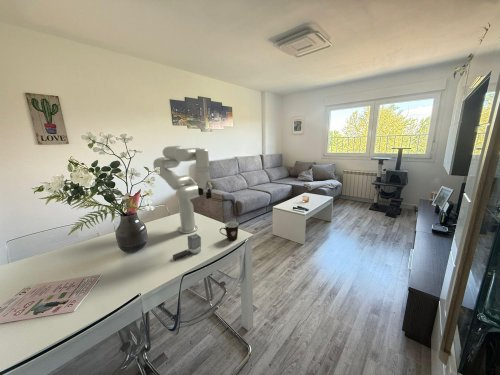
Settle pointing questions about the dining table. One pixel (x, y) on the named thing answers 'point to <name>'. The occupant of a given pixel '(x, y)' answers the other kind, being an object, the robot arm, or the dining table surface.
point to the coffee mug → (231, 230)
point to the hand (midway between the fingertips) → (204, 196)
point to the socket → (194, 241)
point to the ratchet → (186, 253)
